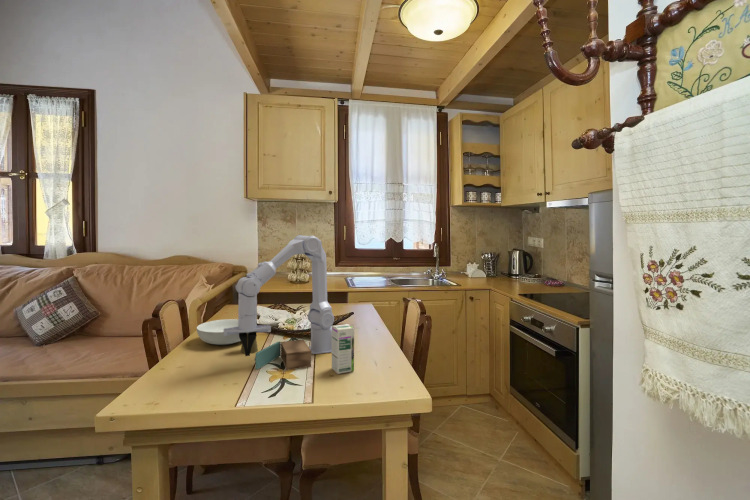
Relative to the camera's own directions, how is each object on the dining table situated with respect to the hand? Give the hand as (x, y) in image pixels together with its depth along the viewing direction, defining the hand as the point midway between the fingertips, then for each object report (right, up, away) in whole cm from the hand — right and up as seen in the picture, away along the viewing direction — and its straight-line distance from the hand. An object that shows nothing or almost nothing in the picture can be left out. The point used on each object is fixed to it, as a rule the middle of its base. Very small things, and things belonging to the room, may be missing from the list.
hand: (247, 355), depth 118 cm
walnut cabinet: (+14, -4, +6) cm, 16 cm away
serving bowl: (-18, -3, +26) cm, 32 cm away
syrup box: (+31, -5, -1) cm, 32 cm away
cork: (-5, -3, +16) cm, 17 cm away
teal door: (+5, -4, +4) cm, 8 cm away
